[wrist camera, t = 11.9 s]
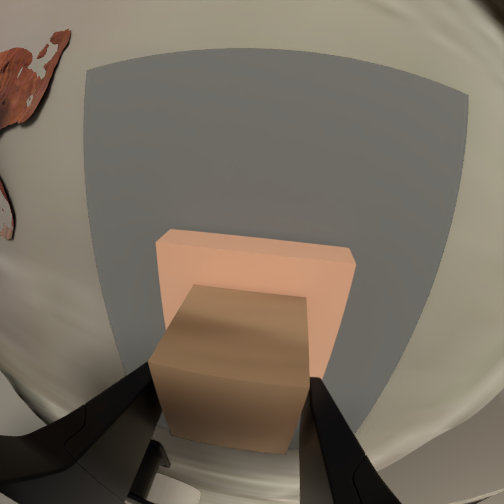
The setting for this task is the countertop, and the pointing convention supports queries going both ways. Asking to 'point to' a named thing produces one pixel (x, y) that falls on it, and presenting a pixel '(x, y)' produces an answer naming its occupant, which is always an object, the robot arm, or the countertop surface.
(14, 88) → the figurine
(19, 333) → the countertop surface
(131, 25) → the countertop surface
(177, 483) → the bottle
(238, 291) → the cube
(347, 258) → the tile
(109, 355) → the countertop surface
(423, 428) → the countertop surface
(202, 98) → the mat
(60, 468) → the robot arm
